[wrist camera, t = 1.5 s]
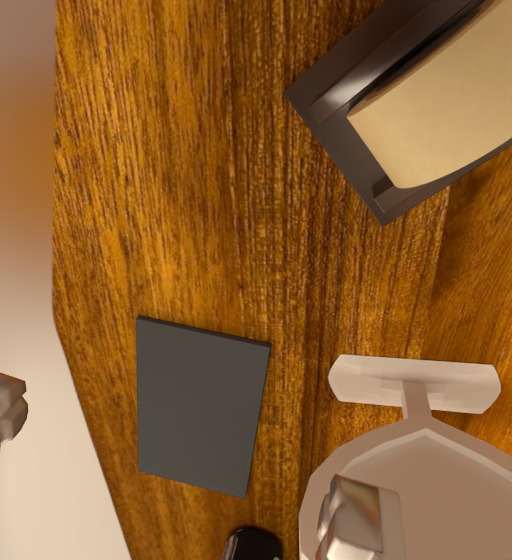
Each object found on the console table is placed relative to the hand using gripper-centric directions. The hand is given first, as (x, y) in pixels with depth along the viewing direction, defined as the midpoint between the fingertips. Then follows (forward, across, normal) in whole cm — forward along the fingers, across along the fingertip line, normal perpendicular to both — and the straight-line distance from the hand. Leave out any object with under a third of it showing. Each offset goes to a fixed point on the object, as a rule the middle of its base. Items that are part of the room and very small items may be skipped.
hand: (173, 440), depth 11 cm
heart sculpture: (+23, -14, +13) cm, 29 cm away
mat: (+22, +4, +23) cm, 33 cm away
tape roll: (+22, -7, -9) cm, 24 cm away
